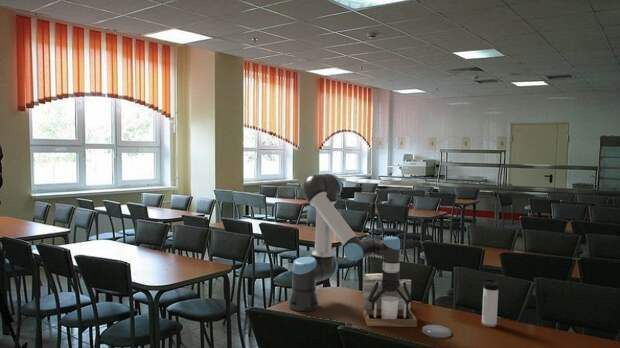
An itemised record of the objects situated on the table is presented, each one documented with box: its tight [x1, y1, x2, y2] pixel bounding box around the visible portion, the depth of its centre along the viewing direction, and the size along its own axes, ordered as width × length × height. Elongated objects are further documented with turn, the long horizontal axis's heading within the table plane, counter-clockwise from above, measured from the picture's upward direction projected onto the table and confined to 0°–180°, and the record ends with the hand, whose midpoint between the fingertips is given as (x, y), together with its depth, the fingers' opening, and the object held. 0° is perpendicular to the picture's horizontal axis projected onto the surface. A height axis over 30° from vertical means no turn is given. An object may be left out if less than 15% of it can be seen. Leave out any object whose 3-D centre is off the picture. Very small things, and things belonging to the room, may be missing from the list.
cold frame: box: [362, 278, 418, 328], centre depth 213 cm, size 15×22×17 cm
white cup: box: [381, 296, 399, 319], centre depth 213 cm, size 8×8×10 cm
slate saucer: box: [421, 324, 452, 339], centre depth 201 cm, size 12×12×1 cm
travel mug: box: [481, 278, 499, 328], centre depth 211 cm, size 6×7×20 cm
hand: (389, 316), depth 213 cm, fingers open, 13 cm apart
